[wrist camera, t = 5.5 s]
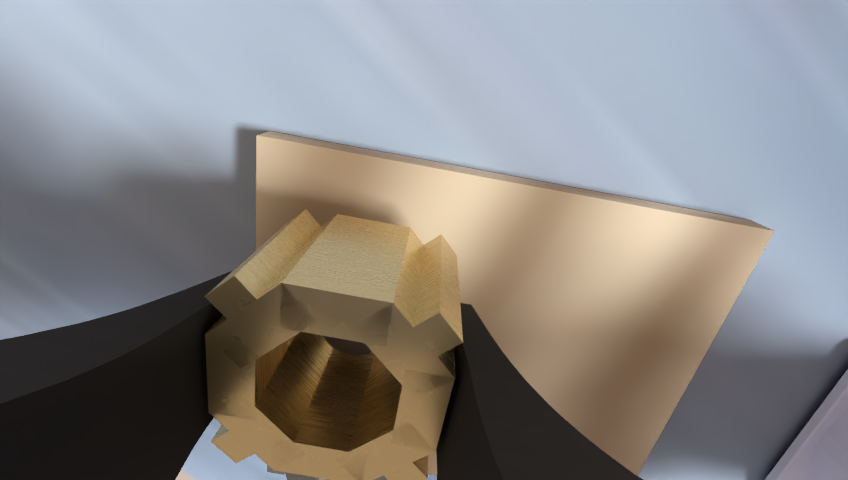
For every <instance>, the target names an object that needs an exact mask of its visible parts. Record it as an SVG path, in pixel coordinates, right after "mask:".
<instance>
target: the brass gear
mask: <svg viewBox="0 0 848 480" xmlns="http://www.w3.org/2000/svg"><path fill="white" fill-rule="evenodd" d="M204 297H205V298H206V299H207V300H208V301H209V302H210V303H211V304H212V305H213V306H214V307H215V308H217V309H218V310H219V311H220V312H221V313H222V314H223V316H222V317H221V318H220V319H219V320H218V321H217V322H216V323H215V324H214V325H213V326H212V327H211V328H210V329H209V330H208V331H207V332H206V333H205V347H206V368H207V390H208V411H209V413H210V414H211V415H212V416H213V417H214V418H215V419H216V420H218V421H219V422H220V423H221V424H222V425H221V427H220V428H219V430H218V431H217V433H216V435H215V436H214V438H213V439H212V441H211V442H212V443H213V444H215V445H216V446H217V447H218V448H219V449H220V450H222V451H223V452H224V453H225V454H226V455H227V456H228V457H230V458H231V459H232V460H233V461H234V462H235V463H237V462H239V461H241V460H243V459H245V458H247V457H249V456H251V455H252V454H254V453H255V454H256V455H257V456H258V457H259V458H260V459H262V460H263V461H264V462H265V463H266V464H267V465H268V466H270V467H271V468H272V469H273V470H275V471H281V472H287V473H293V474H299V475H305V476H311V477H317V478H323V479H329V480H374V479H377V478H379V477H381V476H383V475H384V476H385V477H386V478H387V479H388V480H425V479H427V476H428V455H429V454H431V453H433V452H436V448H437V444H438V441H439V437H440V433H441V429H442V426H443V422H444V418H445V414H446V410H447V407H448V403H449V399H450V395H451V392H452V388H453V384H454V380H455V361H454V347H456V346H458V345H460V344H461V343H463V334H462V320H461V305H460V291H459V277H458V263H457V255H456V254H455V252H454V251H453V250H452V248H451V247H450V245H449V244H448V243H447V241H446V240H445V238H444V237H443V236H442V234H441V235H439V236H437V237H436V238H434V239H433V240H431V241H429V242H428V243H426V244H425V245H423V243H422V242H421V241H420V239H419V238H418V237H417V235H416V234H415V233H414V231H413V230H412V229H411V228H410V227H405V226H400V225H394V224H389V223H383V222H378V221H372V220H367V219H361V218H356V217H351V216H345V215H340V214H337V215H335V216H334V217H332V218H331V219H330V220H328V221H327V222H325V223H324V224H322V225H321V226H320V225H319V224H318V223H317V222H316V220H315V219H314V218H313V217H312V216H311V214H310V213H309V212H308V211H307V210H304V211H303V212H302V213H300V214H299V215H297V216H296V217H295V218H293V219H292V220H290V221H289V222H288V223H286V224H285V225H284V226H283V227H282V228H280V229H279V230H278V231H277V232H276V233H275V234H274V235H273V236H272V237H270V238H269V239H268V240H267V241H266V242H265V243H264V244H263V245H261V246H260V247H259V248H258V249H257V250H256V251H255V252H254V253H253V254H251V255H250V256H249V257H248V258H247V259H246V260H245V261H244V262H242V263H241V264H240V265H239V266H238V267H237V268H236V269H235V270H234V271H232V272H231V273H230V274H229V275H228V276H227V277H226V278H225V279H223V280H222V281H221V282H220V283H219V284H218V285H217V286H216V287H215V288H213V289H212V290H211V291H210V292H209V293H208V294H207V295H206V296H204ZM323 336H328V337H334V338H339V339H345V340H351V341H356V342H362V343H365V344H366V345H367V346H368V347H369V349H370V350H371V351H372V352H371V353H368V354H364V355H349V354H345V353H342V352H340V351H338V350H336V349H334V348H333V347H332V346H331V345H330V344H329V343H328V342H327V341H326V340H325V338H324V337H323Z"/></svg>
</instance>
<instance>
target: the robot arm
mask: <svg viewBox="0 0 848 480" xmlns="http://www.w3.org/2000/svg"><path fill="white" fill-rule="evenodd" d="M231 272H232V271H231ZM231 272H229V273H226V274H223V275H221V276H218V277H216V278H213V279H211V280H208V281H206V282H203V283H201V284H198V285H196V286H193V287H191V288H188V289H186V290H183V291H180V292H178V293H175V294H172V295H169V296H166V297H164V298H161V299H158V300H155V301H152V302H150V303H147V304H144V305H141V306H138V307H135V308H132V309H129V310H125V311H122V312H119V313H115V314H112V315H108V316H105V317H101V318H97V319H94V320H90V321H86V322H82V323H78V324H74V325H70V326H65V327H60V328H56V329H51V330H47V331H42V332H38V333H33V334H29V335H24V336H19V337H14V338H9V339H3V340H0V480H175V479H176V477H177V475H178V474H179V472H180V470H181V468H182V467H183V465H184V463H185V461H186V460H187V458H188V456H189V454H190V453H191V451H192V449H193V447H194V446H195V444H196V443H197V441H198V440H199V438H200V437H201V435H202V434H203V432H204V431H205V429H206V428H207V426H208V425H209V423H210V422H211V421H212V419H213V418H214V417H213V416H212V415H211V414H210V413H209V411H208V390H207V368H206V347H205V333H206V332H207V331H208V330H209V329H210V328H211V327H212V326H213V325H214V324H215V323H216V322H217V321H218V320H219V319H220V318H221V317H222V316H223V314H222V313H221V312H220V311H219V310H218V309H217V308H215V307H214V306H213V305H212V304H211V303H210V302H209V301H208V300H207V299H206V298H205V297H204V296H206V295H207V294H208V293H209V292H210V291H211V290H212V289H213V288H215V287H216V286H217V285H218V284H219V283H220V282H221V281H222V280H223V279H225V278H226V277H227V276H228V275H229V274H230V273H231ZM460 305H461V320H462V334H463V343H461V344H460V345H458V346H456V347H454V361H455V380H454V384H453V388H452V392H451V395H450V399H449V403H448V407H447V410H446V414H445V418H444V422H443V426H442V429H441V433H440V437H439V441H438V444H437V448H436V455H437V480H643V479H641V478H640V477H638V476H637V475H635V474H634V473H632V472H631V471H629V470H628V469H627V468H625V467H624V466H623V465H621V464H620V463H619V462H617V461H616V460H615V459H613V458H612V457H611V456H609V455H608V454H607V453H605V452H604V451H603V450H601V449H600V448H599V447H597V446H596V445H595V444H594V443H593V442H591V441H590V440H589V439H588V438H586V437H585V436H584V435H583V434H581V433H580V432H579V431H578V430H577V429H576V428H575V427H573V426H572V425H571V424H570V423H569V422H568V421H567V420H565V419H564V418H563V417H562V416H561V415H560V414H559V413H558V412H557V411H556V410H554V409H553V408H552V407H551V406H550V405H549V404H548V403H547V402H546V401H545V400H544V399H543V398H542V397H541V396H540V395H539V394H538V393H537V391H536V390H535V389H534V388H533V387H532V386H531V385H530V384H529V383H528V382H527V381H526V380H525V379H524V377H523V376H522V375H521V374H520V373H519V371H518V370H517V369H516V368H515V367H514V365H513V364H512V363H511V362H510V361H509V359H508V358H507V357H506V355H505V354H504V353H503V351H502V350H501V349H500V347H499V346H498V344H497V343H496V342H495V340H494V339H493V337H492V336H491V334H490V333H489V331H488V330H487V328H486V327H485V325H484V323H483V322H482V320H481V319H480V317H479V316H478V314H477V312H476V311H475V309H474V308H473V306H472V305H470V304H465V303H460ZM765 480H848V369H847V370H846V372H845V373H844V374H843V376H842V377H841V378H840V380H839V381H838V383H837V384H836V385H835V387H834V388H833V389H832V391H831V392H830V393H829V395H828V396H827V397H826V399H825V400H824V401H823V403H822V404H821V405H820V407H819V408H818V409H817V411H816V412H815V413H814V415H813V416H812V417H811V419H810V420H809V421H808V423H807V424H806V425H805V427H804V428H803V429H802V431H801V432H800V433H799V435H798V436H797V437H796V439H795V440H794V441H793V443H792V444H791V445H790V447H789V448H788V449H787V451H786V452H785V453H784V455H783V456H782V457H781V459H780V460H779V461H778V463H777V464H776V465H775V467H774V468H773V469H772V471H771V472H770V473H769V475H768V476H767V477H766V479H765Z"/></svg>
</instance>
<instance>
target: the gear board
mask: <svg viewBox="0 0 848 480" xmlns="http://www.w3.org/2000/svg"><path fill="white" fill-rule="evenodd" d="M304 210H307V211H308V212H309V213H310V214H311V216H312V217H313V218H314V219H315V220H316V222H317V223H318V224H319V225H320V226H321V225H322V224H324V223H325V222H327V221H328V220H330V219H331V218H332V217H334V216H335V215H337V214H340V215H345V216H351V217H356V218H361V219H367V220H372V221H378V222H383V223H389V224H394V225H400V226H405V227H410V228H411V229H412V230H413V231H414V233H415V234H416V235H417V237H418V238H419V239H420V241H421V242H422V243H423V245H425V244H426V243H428V242H429V241H431V240H433V239H434V238H436V237H437V236H439V235H441V234H442V236H443V237H444V238H445V240H446V241H447V243H448V244H449V245H450V247H451V248H452V250H453V251H454V252H455V254H456V255H457V263H458V277H459V291H460V303H465V304H470V305H472V306H473V308H474V309H475V311H476V312H477V314H478V316H479V317H480V319H481V320H482V322H483V323H484V325H485V327H486V328H487V330H488V331H489V333H490V334H491V336H492V337H493V339H494V340H495V342H496V343H497V344H498V346H499V347H500V349H501V350H502V351H503V353H504V354H505V355H506V357H507V358H508V359H509V361H510V362H511V363H512V364H513V365H514V367H515V368H516V369H517V370H518V371H519V373H520V374H521V375H522V376H523V377H524V379H525V380H526V381H527V382H528V383H529V384H530V385H531V386H532V387H533V388H534V389H535V390H536V391H537V393H538V394H539V395H540V396H541V397H542V398H543V399H544V400H545V401H546V402H547V403H548V404H549V405H550V406H551V407H552V408H553V409H554V410H556V411H557V412H558V413H559V414H560V415H561V416H562V417H563V418H564V419H565V420H567V421H568V422H569V423H570V424H571V425H572V426H573V427H575V428H576V429H577V430H578V431H579V432H580V433H581V434H583V435H584V436H585V437H586V438H588V439H589V440H590V441H591V442H593V443H594V444H595V445H596V446H597V447H599V448H600V449H601V450H603V451H604V452H605V453H607V454H608V455H609V456H611V457H612V458H613V459H615V460H616V461H617V462H619V463H620V464H621V465H623V466H624V467H625V468H627V469H628V470H629V471H631V472H632V473H634V474H635V475H638V474H639V472H640V470H641V468H642V466H643V465H644V463H645V461H646V459H647V458H648V456H649V454H650V452H651V450H652V449H653V447H654V445H655V443H656V441H657V440H658V438H659V436H660V434H661V433H662V431H663V429H664V427H665V425H666V424H667V422H668V420H669V418H670V417H671V415H672V413H673V411H674V409H675V408H676V406H677V404H678V402H679V400H680V399H681V397H682V395H683V393H684V392H685V390H686V388H687V386H688V384H689V383H690V381H691V379H692V377H693V376H694V374H695V372H696V370H697V368H698V367H699V365H700V363H701V361H702V359H703V358H704V356H705V354H706V352H707V351H708V349H709V347H710V345H711V343H712V342H713V340H714V338H715V336H716V334H717V333H718V331H719V329H720V327H721V326H722V324H723V322H724V320H725V318H726V317H727V315H728V313H729V311H730V310H731V308H732V306H733V304H734V302H735V301H736V299H737V297H738V295H739V293H740V292H741V290H742V288H743V286H744V285H745V283H746V281H747V279H748V277H749V276H750V274H751V272H752V270H753V268H754V267H755V265H756V263H757V261H758V260H759V258H760V256H761V254H762V252H763V251H764V249H765V247H766V245H767V244H768V242H769V240H770V238H771V236H772V235H773V233H774V231H773V230H771V229H769V228H767V227H765V226H762V225H760V224H758V223H756V222H754V221H751V220H747V219H742V218H736V217H731V216H725V215H720V214H715V213H709V212H704V211H698V210H693V209H688V208H682V207H677V206H671V205H666V204H661V203H655V202H650V201H645V200H639V199H634V198H628V197H623V196H618V195H612V194H607V193H601V192H596V191H591V190H585V189H580V188H574V187H569V186H564V185H558V184H553V183H547V182H542V181H537V180H531V179H526V178H520V177H515V176H510V175H504V174H499V173H493V172H488V171H483V170H477V169H472V168H467V167H461V166H456V165H450V164H445V163H440V162H434V161H429V160H423V159H418V158H413V157H407V156H402V155H396V154H391V153H386V152H380V151H375V150H369V149H364V148H359V147H353V146H348V145H342V144H337V143H332V142H326V141H321V140H315V139H310V138H305V137H299V136H294V135H289V134H283V133H278V132H272V131H269V132H266V133H262V134H259V135H256V238H255V251H256V250H257V249H258V248H259V247H260V246H261V245H263V244H264V243H265V242H266V241H267V240H268V239H269V238H270V237H272V236H273V235H274V234H275V233H276V232H277V231H278V230H279V229H280V228H282V227H283V226H284V225H285V224H286V223H288V222H289V221H290V220H292V219H293V218H295V217H296V216H297V215H299V214H300V213H302V212H303V211H304ZM323 337H324V338H325V340H326V341H327V342H328V343H329V344H330V345H331V346H332V347H333V348H334V349H336V350H338V351H340V352H342V353H345V354H349V355H364V354H368V353H371V352H372V351H371V350H370V349H369V347H368V346H367V345H366V344H365V343H362V342H356V341H351V340H345V339H339V338H334V337H328V336H323ZM428 474H431V475H437V455H436V452H433V453H431V454H429V455H428Z"/></svg>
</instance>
